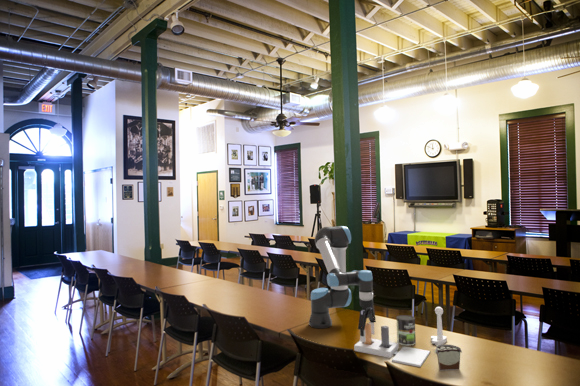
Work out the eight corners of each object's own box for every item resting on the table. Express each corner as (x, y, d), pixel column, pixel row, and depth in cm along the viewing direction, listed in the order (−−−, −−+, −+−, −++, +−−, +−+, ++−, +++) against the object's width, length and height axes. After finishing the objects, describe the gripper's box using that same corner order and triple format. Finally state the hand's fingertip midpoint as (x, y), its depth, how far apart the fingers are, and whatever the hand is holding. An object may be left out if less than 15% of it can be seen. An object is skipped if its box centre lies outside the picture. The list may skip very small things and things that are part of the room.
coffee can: (419, 344, 216) (418, 319, 216) (403, 346, 213) (402, 321, 214) (409, 338, 226) (408, 314, 226) (393, 340, 223) (392, 316, 224)
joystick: (439, 346, 213) (437, 309, 213) (426, 342, 218) (425, 307, 219) (448, 340, 220) (447, 305, 220) (436, 337, 226) (434, 303, 226)
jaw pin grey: (380, 352, 207) (379, 327, 207) (383, 349, 211) (382, 325, 211) (388, 353, 205) (387, 328, 205) (390, 350, 208) (389, 326, 209)
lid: (388, 360, 196) (387, 358, 196) (399, 347, 213) (399, 345, 213) (420, 367, 187) (420, 365, 187) (430, 352, 204) (430, 350, 204)
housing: (354, 350, 210) (354, 345, 210) (364, 342, 222) (364, 337, 222) (390, 357, 199) (390, 352, 199) (398, 348, 211) (398, 343, 211)
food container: (456, 364, 190) (455, 343, 190) (462, 369, 183) (461, 348, 184) (431, 365, 189) (430, 344, 189) (436, 370, 183) (436, 349, 183)
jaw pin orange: (363, 348, 212) (362, 325, 213) (366, 346, 216) (365, 322, 216) (370, 350, 210) (369, 326, 211) (372, 347, 214) (372, 323, 214)
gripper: (364, 305, 201) (365, 346, 201) (380, 294, 222) (381, 332, 222) (350, 303, 205) (352, 343, 205) (368, 293, 226) (369, 330, 226)
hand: (367, 337), depth 213 cm, fingers open, 13 cm apart
